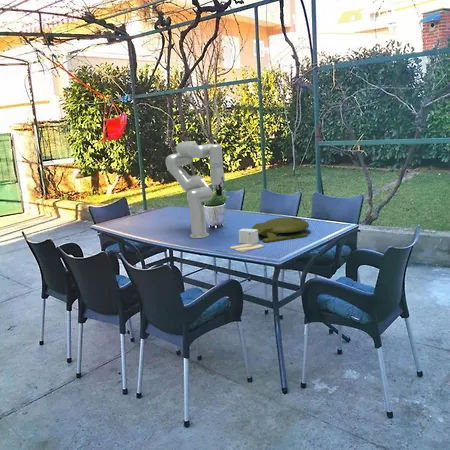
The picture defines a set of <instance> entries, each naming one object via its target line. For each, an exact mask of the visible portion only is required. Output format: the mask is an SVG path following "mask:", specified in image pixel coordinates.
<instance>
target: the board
mask: <svg viewBox="0 0 450 450" xmlns="http://www.w3.org/2000/svg"><path fill="white" fill-rule="evenodd" d="M228 248H229V249H232V250H235V251H236V252H239V253H245V252H250V251H255V250H257V249H261V248H266V246H265V245H264V244H261V243H259V242H258V243H256V244H244V243H239V244H235V245H231V246H229V247H228Z"/></svg>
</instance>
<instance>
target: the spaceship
mask: <svg viewBox="0 0 450 450" xmlns="http://www.w3.org/2000/svg"><path fill="white" fill-rule="evenodd" d="M309 227H310V224H309V223H308V221H306V220H304V219H301V218H298V217H294V216H293V217H292V216H291V217H290V216H287V217H286V216H283V217H275V218H272V219H268V220H266V221H264V222H259V223H255V224H254V225H253V226H252V227H251V229H258V235H261V236H263V237H264V238H263V239H262V240H261V241H262V243H272V242H274V243H275V242H279V241H280V240H281V241H287V240H292V239H299V238H305V237H308V233H307V232H301V231H304V230H306V229H308V228H309ZM284 233H286V234H284ZM288 233H291V234H288ZM278 234H284V235H278ZM277 235H278V236H277Z"/></svg>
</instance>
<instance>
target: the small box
mask: <svg viewBox="0 0 450 450" xmlns="http://www.w3.org/2000/svg"><path fill="white" fill-rule="evenodd" d="M238 240H239V242H238V243H239V244H243V243H244V244H256V243H258V244H259V241H260V240H259V233H258V229H252V228H241V229H239V230H238Z"/></svg>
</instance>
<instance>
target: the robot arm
mask: <svg viewBox="0 0 450 450" xmlns="http://www.w3.org/2000/svg"><path fill="white" fill-rule="evenodd" d="M222 147H223V146H222V144H219V143H218V144H217V143H215V144H214V143H206V144H200V145H199V144H198V143H197V142H196V141H194V140H189V141H181V142H179V143H177V145H176V147H175V151H176V152H177V153H172V154H169V155H168V156H167V157H166V158H165V166H166V168H167V171H168V172H169V174H170V175H172V177H174V179H175V180H176V182H177V183H178V184H179V186H180V187H181V188H182V190H183V191H185V192H187V193H186V200H187V203H188V208H189V218H190V226H191V227H190V231H191V233H190V234H189V238H191V239H204V238H207V237H209V235H210V234H209V232H207V223H206V215H205V214H206V213H205V208H204V206H203V205H202V203H204V202H209V201H211V200H212V198H213V195H214V194H213V191H212V188H211V187H210V185H209V184H208V183H207V182H206V179H204V177H202V175H198V174H196V175H190V174H189V173H188V172H187V171H186V170H185V169H184V168H182V167H183V166H187V165H190V164H191V163H192V161H193V160H194V159H195V158H196V159H202V158H209V162H210V170H209V171H210V173H209V175H210V176H209V177H210V184H211V185H213V186H214V188H215V195H216V197H221V196H223V192H222V191H223V187H224V186H225V184H226V183H225V181H226V179H225V178H226V177H225V171H224V161H223V150H222V149H223V148H222ZM181 166H182V167H181Z"/></svg>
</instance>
